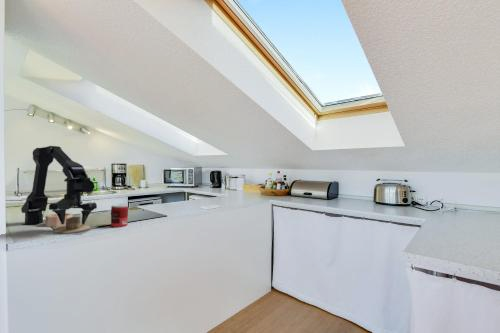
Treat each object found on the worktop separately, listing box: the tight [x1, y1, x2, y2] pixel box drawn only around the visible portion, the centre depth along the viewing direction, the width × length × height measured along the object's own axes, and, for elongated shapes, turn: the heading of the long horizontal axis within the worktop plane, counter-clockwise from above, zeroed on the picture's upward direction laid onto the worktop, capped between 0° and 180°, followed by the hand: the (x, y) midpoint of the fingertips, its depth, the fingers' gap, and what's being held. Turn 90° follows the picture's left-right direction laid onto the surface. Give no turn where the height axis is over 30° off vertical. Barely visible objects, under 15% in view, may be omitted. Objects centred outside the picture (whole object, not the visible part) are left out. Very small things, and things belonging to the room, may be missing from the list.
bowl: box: [44, 212, 73, 228], centre depth 133 cm, size 10×10×5 cm
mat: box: [42, 225, 100, 236], centre depth 122 cm, size 16×16×1 cm
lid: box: [53, 216, 91, 234], centre depth 122 cm, size 14×14×6 cm
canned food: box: [110, 203, 129, 228], centre depth 133 cm, size 8×8×11 cm
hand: (72, 224), depth 122 cm, fingers open, 9 cm apart
